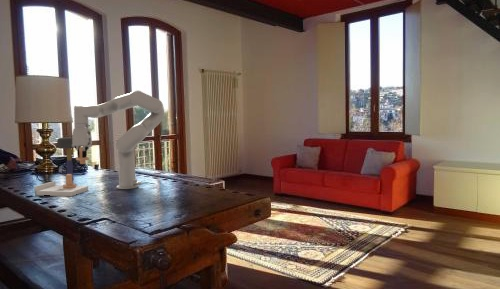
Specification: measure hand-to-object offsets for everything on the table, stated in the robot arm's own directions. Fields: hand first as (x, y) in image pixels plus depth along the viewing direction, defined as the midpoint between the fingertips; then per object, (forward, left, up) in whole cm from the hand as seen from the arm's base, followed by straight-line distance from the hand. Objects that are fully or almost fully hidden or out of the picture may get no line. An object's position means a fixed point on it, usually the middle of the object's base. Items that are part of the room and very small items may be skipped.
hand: (82, 157), depth 217 cm
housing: (+7, +10, -19) cm, 23 cm away
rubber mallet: (+23, -21, -20) cm, 36 cm away
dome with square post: (0, 0, -4) cm, 4 cm away
